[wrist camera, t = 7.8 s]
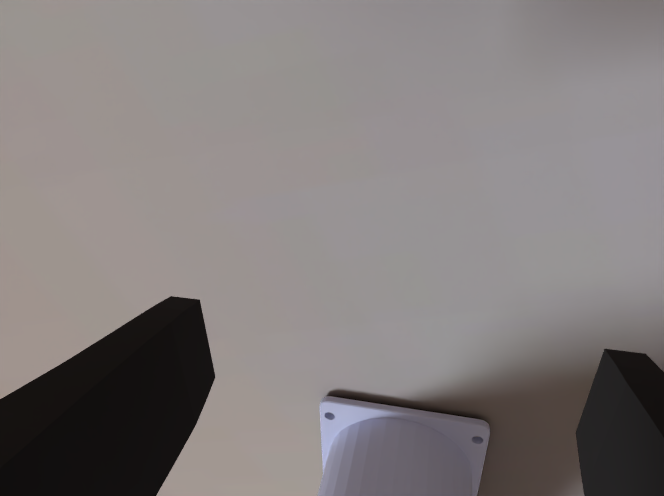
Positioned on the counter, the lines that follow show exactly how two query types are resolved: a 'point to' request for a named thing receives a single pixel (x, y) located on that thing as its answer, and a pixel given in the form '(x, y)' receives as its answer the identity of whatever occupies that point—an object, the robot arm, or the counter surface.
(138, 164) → the counter surface
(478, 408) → the counter surface
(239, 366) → the counter surface
